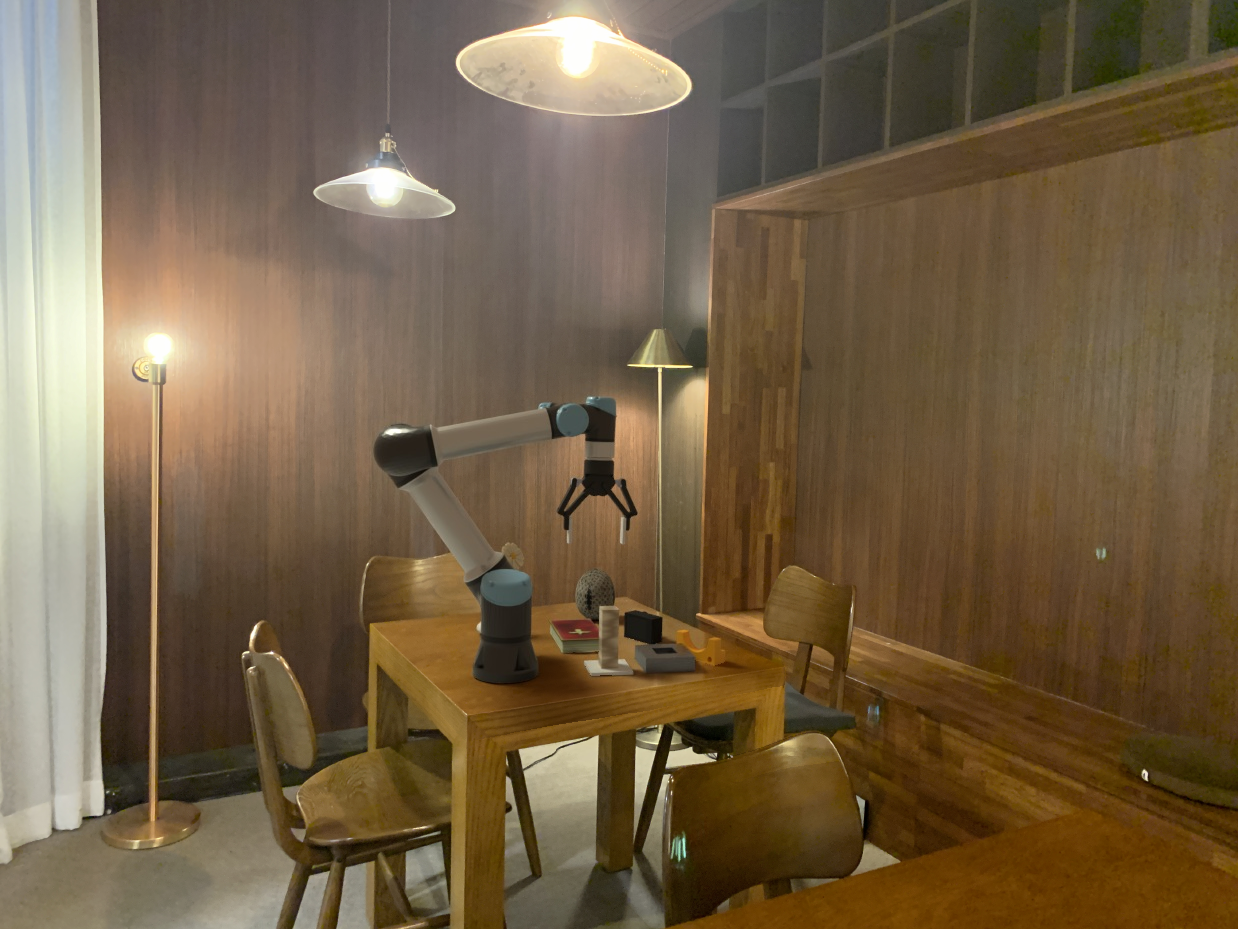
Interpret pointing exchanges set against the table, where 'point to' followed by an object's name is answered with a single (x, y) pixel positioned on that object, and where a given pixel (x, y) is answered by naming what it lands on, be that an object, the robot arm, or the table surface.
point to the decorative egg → (594, 593)
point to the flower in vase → (513, 557)
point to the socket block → (664, 658)
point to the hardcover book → (575, 635)
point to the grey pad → (597, 671)
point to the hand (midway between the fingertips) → (596, 543)
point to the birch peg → (608, 636)
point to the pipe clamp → (706, 655)
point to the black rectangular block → (643, 627)
